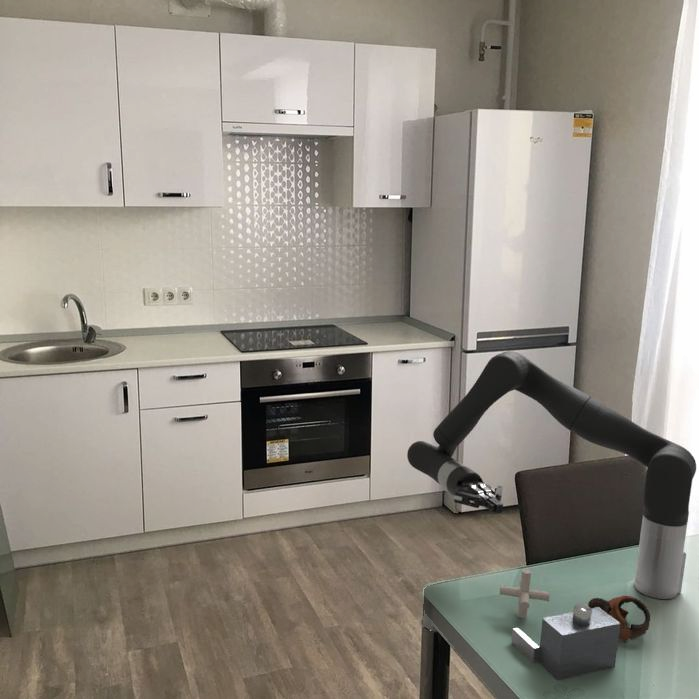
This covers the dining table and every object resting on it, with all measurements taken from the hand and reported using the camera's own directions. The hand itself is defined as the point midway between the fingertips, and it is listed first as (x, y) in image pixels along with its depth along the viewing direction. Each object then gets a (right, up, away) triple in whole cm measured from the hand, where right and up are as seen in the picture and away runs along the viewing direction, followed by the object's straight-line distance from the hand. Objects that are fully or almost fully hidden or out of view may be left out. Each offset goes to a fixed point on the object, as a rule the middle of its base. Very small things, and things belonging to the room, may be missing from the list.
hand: (499, 509), depth 168 cm
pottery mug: (+22, -23, -10) cm, 33 cm away
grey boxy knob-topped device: (+9, -24, -19) cm, 32 cm away
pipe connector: (+3, -21, -6) cm, 22 cm away
